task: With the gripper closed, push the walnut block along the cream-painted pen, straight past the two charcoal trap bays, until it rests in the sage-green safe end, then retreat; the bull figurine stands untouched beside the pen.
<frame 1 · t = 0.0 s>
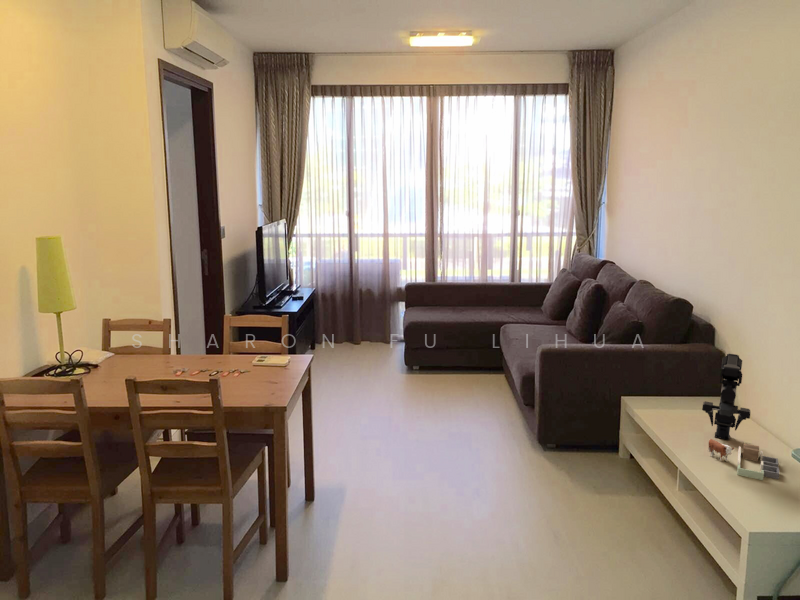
hand: (723, 428, 281), 15 cm above the table, fingers open, 9 cm apart
trap pen: (750, 464, 279), on the table
walnut block: (750, 457, 286), on the table
bull figurine: (719, 459, 284), on the table
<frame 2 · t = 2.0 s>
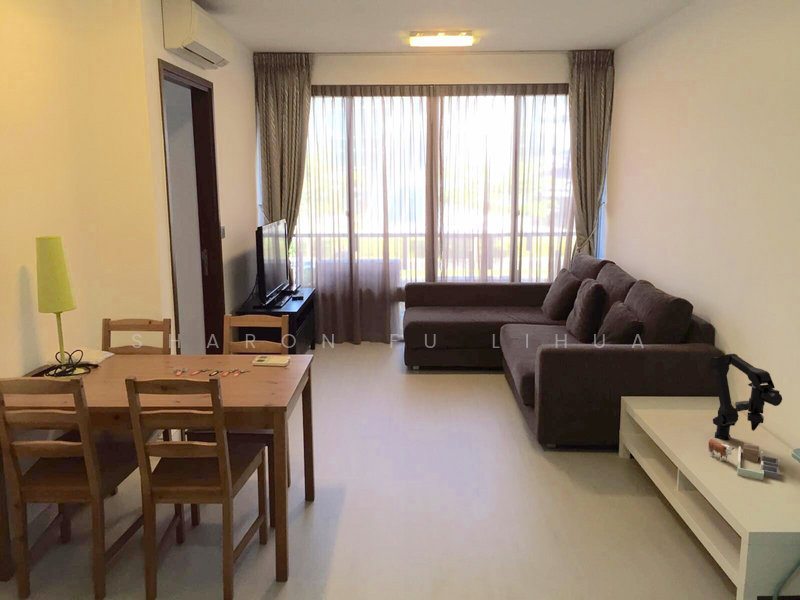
hand: (752, 430, 290), 10 cm above the table, fingers closed
nothing on the table moved.
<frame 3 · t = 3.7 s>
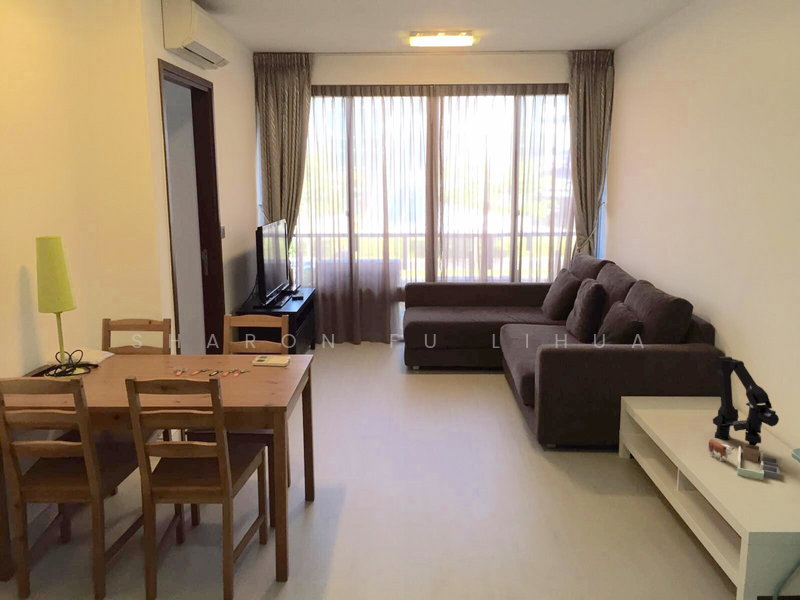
hand: (750, 449, 290), 2 cm above the table, fingers closed
walnut block: (750, 457, 286), on the table, touching gripper
everything else where it was.
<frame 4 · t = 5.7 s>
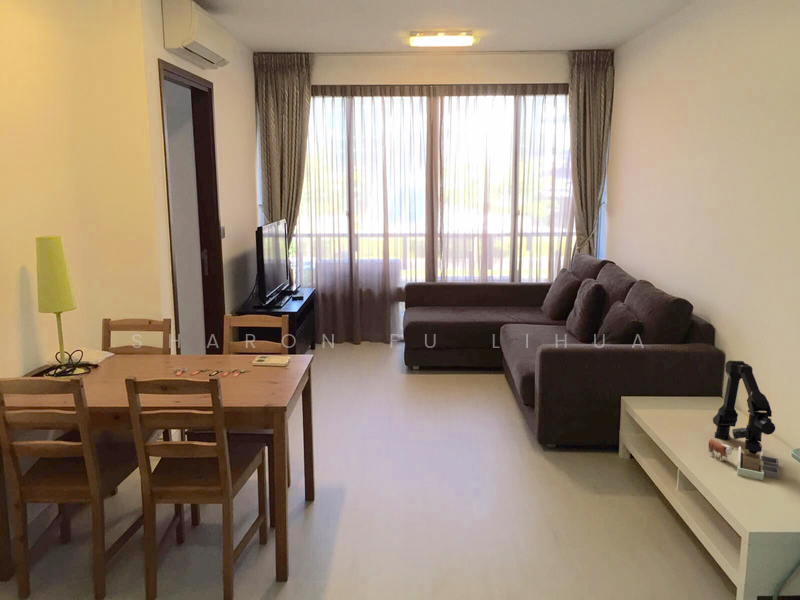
hand: (750, 458, 281), 2 cm above the table, fingers closed
walnut block: (750, 466, 277), on the table, touching gripper
everything else where it was.
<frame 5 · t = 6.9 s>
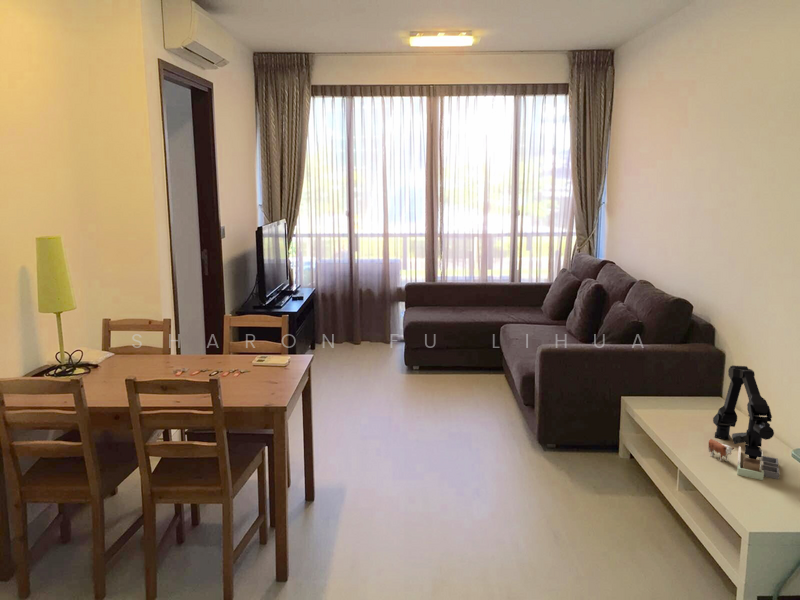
hand: (750, 463, 276), 2 cm above the table, fingers closed
walnut block: (750, 471, 272), on the table, touching gripper
everything else where it was.
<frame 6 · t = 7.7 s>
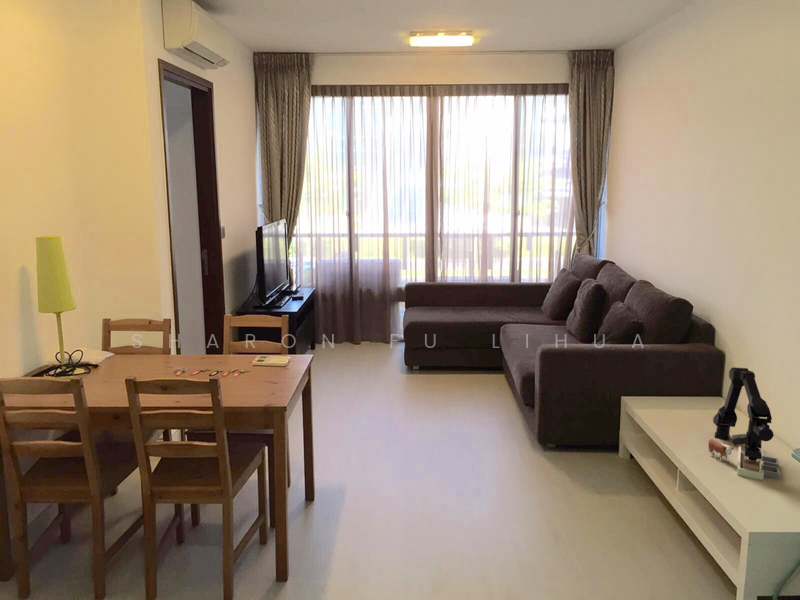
hand: (750, 465, 274), 2 cm above the table, fingers closed
walnut block: (750, 473, 270), on the table, touching gripper
everything else where it was.
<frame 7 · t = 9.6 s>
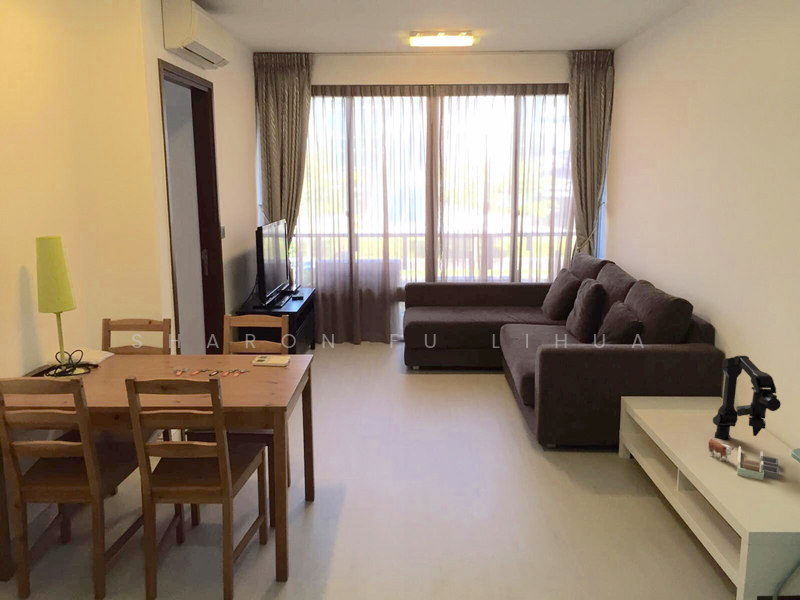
hand: (754, 435, 281), 12 cm above the table, fingers closed
walnut block: (750, 473, 270), on the table
everything else where it was.
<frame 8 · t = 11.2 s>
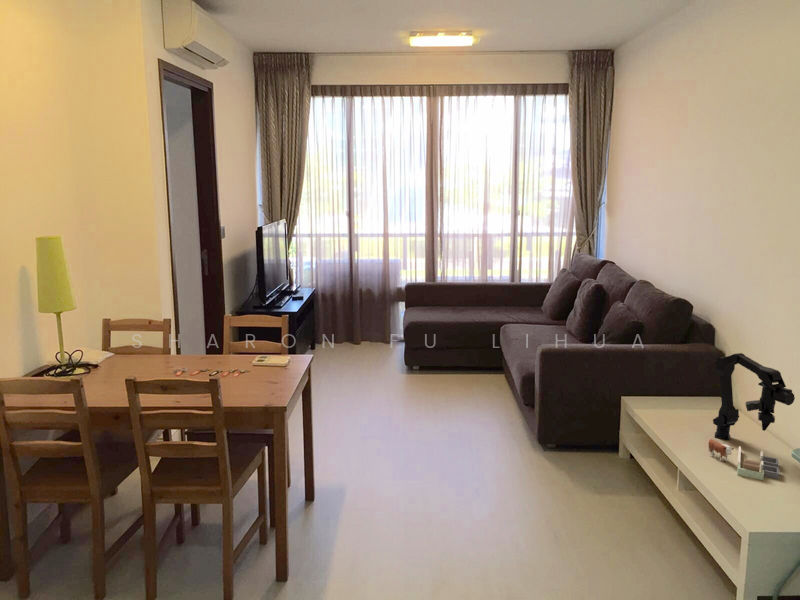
hand: (763, 430, 286), 12 cm above the table, fingers closed
nothing on the table moved.
at the end: walnut block inside the target area on the trap pen (0.9 cm from its centre), point 0.0 cm above the trap pen's base; walnut block tilted 0°; walnut block moved 18.5 cm from its start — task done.
